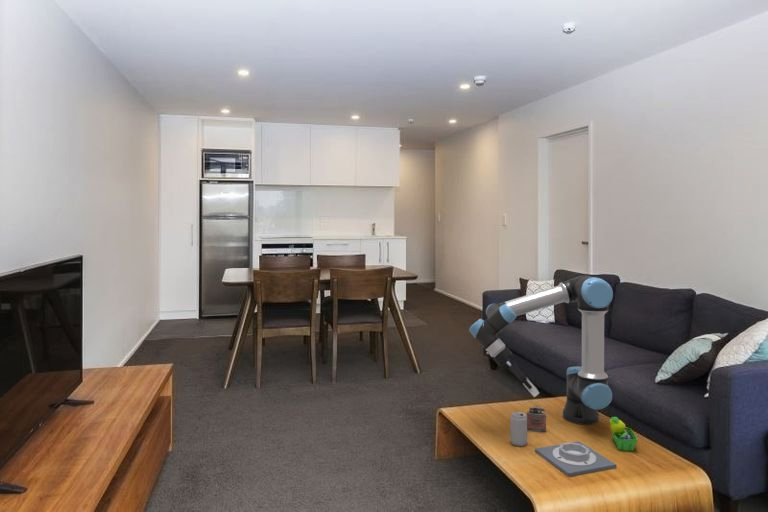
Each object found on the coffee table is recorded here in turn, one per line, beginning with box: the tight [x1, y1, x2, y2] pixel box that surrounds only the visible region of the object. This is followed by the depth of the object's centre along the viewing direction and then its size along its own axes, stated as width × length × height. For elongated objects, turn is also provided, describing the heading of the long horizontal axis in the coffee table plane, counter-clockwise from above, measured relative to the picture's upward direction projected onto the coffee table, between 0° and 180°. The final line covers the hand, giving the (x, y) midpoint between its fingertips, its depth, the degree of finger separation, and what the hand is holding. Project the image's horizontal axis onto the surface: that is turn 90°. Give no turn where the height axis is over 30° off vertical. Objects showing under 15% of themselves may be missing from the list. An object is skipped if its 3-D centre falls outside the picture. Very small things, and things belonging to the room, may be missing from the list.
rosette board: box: [534, 441, 617, 477], centre depth 178 cm, size 20×20×4 cm
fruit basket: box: [609, 416, 638, 452], centre depth 189 cm, size 11×9×11 cm
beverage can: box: [509, 411, 528, 447], centre depth 192 cm, size 6×6×12 cm
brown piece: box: [526, 405, 547, 433], centre depth 205 cm, size 8×3×10 cm, turn 68°
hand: (536, 393), depth 194 cm, fingers open, 13 cm apart
